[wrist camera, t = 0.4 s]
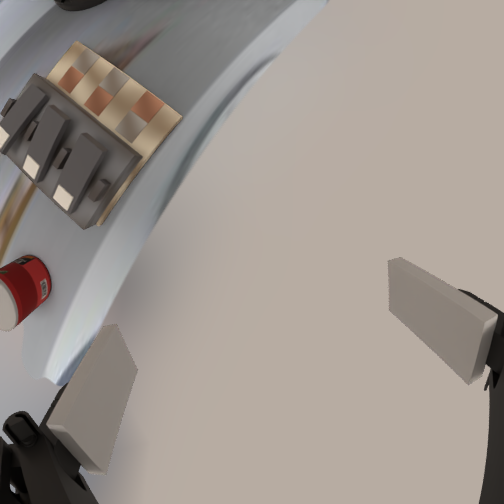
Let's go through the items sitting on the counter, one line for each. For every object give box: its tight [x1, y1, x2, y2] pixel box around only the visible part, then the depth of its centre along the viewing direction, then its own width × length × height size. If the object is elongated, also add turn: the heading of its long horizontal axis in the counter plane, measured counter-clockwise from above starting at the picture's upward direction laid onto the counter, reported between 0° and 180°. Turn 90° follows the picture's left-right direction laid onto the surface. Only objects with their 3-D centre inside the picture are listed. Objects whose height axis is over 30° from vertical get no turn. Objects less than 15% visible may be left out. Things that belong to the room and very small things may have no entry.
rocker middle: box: [21, 105, 71, 183], centre depth 26 cm, size 9×4×1 cm, turn 139°
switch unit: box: [1, 40, 183, 230], centre depth 30 cm, size 18×22×7 cm
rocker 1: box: [0, 83, 49, 155], centre depth 25 cm, size 9×4×1 cm, turn 139°
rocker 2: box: [51, 132, 108, 215], centre depth 28 cm, size 9×4×1 cm, turn 140°
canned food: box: [0, 256, 51, 332], centre depth 32 cm, size 8×8×11 cm
